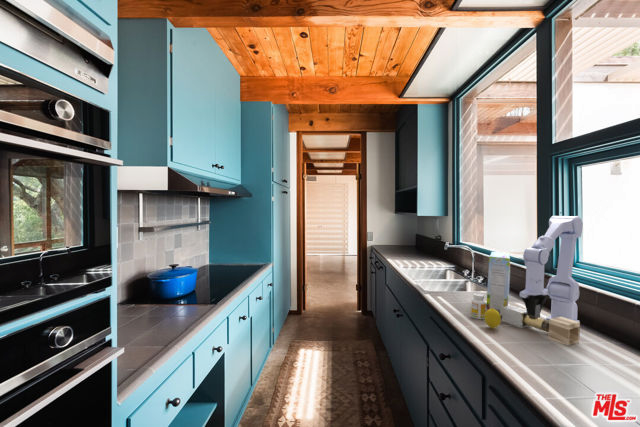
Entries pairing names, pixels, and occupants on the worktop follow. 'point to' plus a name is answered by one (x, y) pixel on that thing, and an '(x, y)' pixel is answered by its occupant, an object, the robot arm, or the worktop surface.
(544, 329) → the tube
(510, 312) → the sleeve
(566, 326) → the socket block
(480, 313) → the supplement bottle
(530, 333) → the worktop surface
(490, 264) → the snack box
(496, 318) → the lemon
